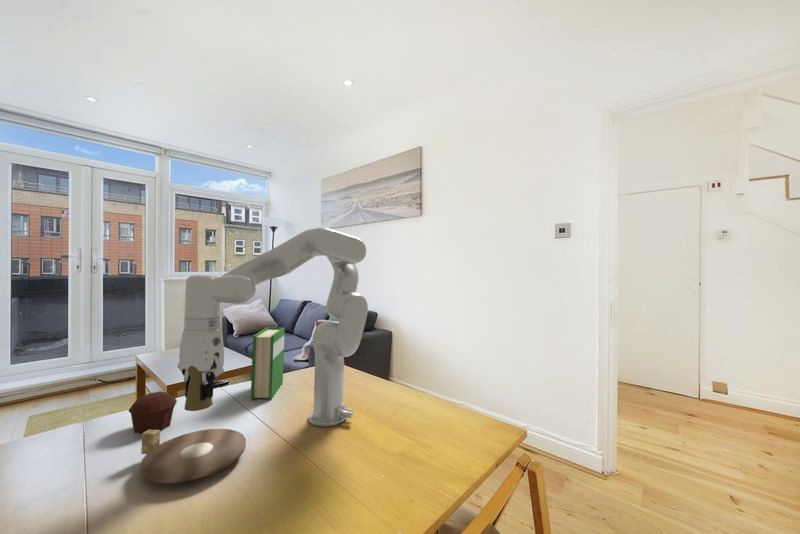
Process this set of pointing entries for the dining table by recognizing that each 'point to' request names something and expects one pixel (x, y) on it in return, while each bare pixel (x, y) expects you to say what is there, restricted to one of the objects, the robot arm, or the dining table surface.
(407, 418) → the dining table surface
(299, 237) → the robot arm
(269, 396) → the hardback book
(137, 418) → the muffin
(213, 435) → the turntable
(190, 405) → the cork
